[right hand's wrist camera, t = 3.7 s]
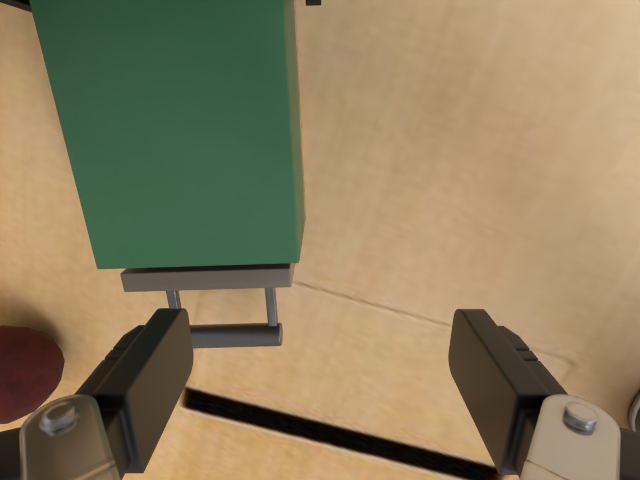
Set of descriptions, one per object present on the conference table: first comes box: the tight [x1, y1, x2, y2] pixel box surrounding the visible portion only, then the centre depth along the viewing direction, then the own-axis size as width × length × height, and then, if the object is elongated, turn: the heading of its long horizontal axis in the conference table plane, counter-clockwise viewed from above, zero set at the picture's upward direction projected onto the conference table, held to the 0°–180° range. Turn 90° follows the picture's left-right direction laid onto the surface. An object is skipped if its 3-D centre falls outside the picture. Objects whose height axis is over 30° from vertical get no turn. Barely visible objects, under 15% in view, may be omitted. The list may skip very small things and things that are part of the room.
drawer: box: [121, 263, 295, 348], centre depth 23 cm, size 22×10×7 cm, turn 2°
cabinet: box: [29, 0, 306, 269], centre depth 22 cm, size 18×11×9 cm, turn 2°
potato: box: [0, 326, 65, 424], centre depth 29 cm, size 7×8×7 cm
